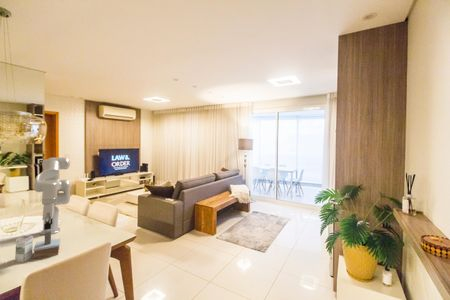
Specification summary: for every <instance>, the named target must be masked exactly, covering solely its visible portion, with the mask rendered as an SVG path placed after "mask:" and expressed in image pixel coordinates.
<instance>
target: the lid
mask: <svg viewBox="0 0 450 300" xmlns="http://www.w3.org/2000/svg"><path fill="white" fill-rule="evenodd" d="M60 243H61V238H55V239H52V234H51V230H50V231H45V235H44V240H43V241H38V242H37V241H36V242H35V245H34V247H33V248H32V252H34V251H37V250H42V249H48V248H53V247H59V248H60V245H61V244H60ZM59 244H60V245H59Z"/></svg>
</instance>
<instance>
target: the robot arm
mask: <svg viewBox="0 0 450 300" xmlns="http://www.w3.org/2000/svg"><path fill="white" fill-rule="evenodd" d="M41 164H42V169H43V171H41V172H40V173H39V174H37V175H36V177H35V179H34V183H33V190H34V191H35V192H36V193H41V197H42V198H41V204H42V205H43V207H42V209H43V210H42V223H43V224H42V225H43V226H42V230H40V232H39V233H40V235H41V236H45V231H50V230H51V235H55V234H57V233H59V232H60V231H61V227H59V215H60V214H59V212H60V209H59V208H58V205H66V204H69V203H70V201H71V182H70V180H69V179H60V177H61V176H60V175H61V173H60V170H68V169H69V168H70V166H71V161H70V159H69V158H68V157H49V158H47V159H44V160H43V161H42V163H41Z"/></svg>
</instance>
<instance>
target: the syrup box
mask: <svg viewBox="0 0 450 300" xmlns="http://www.w3.org/2000/svg"><path fill="white" fill-rule="evenodd" d="M33 242H34V236H33V235H21V236H19V237H18V238H16V239H15V260H14V261H15V262H22V263H23V262H27V261H28V260H30V259H31V258H33V249H34V247H33V246H34V243H33Z"/></svg>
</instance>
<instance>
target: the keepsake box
mask: <svg viewBox="0 0 450 300" xmlns="http://www.w3.org/2000/svg"><path fill="white" fill-rule="evenodd" d="M60 245H61V244H59V247H53V248H48V249H42V250H37V251H33V260H36V259H37V260H38V259H42V258H48V257H51V256H52V257H54V256H58V255H59V252H60Z"/></svg>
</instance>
